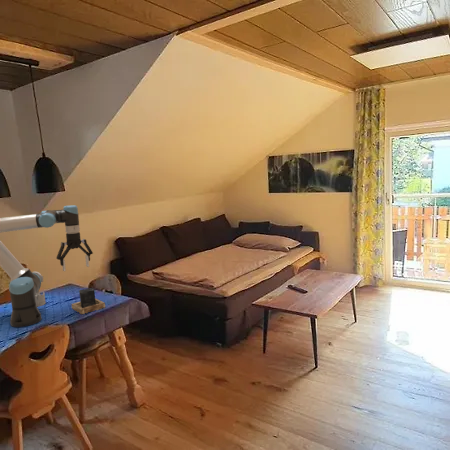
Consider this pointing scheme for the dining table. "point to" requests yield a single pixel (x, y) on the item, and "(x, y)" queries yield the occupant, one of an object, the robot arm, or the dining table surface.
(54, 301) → the dining table surface
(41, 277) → the engine component
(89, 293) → the box
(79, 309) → the socket tray
